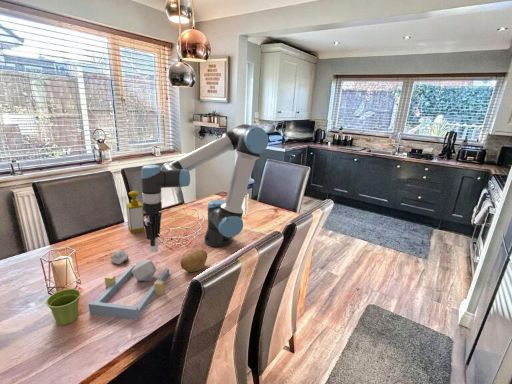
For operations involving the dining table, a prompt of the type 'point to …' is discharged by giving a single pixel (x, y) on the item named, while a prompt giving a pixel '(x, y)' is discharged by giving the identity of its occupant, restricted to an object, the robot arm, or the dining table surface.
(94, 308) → the beam track
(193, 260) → the potato
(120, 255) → the grey stone
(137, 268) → the faceted grey rock
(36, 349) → the dining table surface
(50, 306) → the plant pot
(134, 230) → the soap bottle
